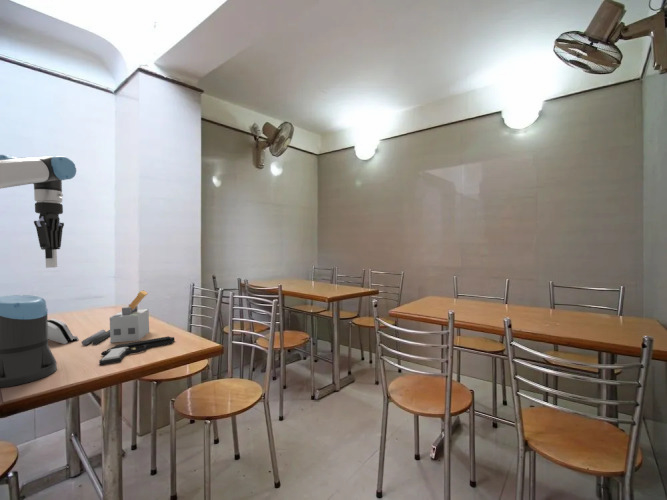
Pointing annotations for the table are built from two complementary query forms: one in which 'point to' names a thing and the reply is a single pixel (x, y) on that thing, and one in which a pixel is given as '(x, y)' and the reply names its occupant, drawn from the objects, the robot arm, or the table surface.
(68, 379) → the table surface
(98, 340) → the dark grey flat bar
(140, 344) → the handgun
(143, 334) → the breaker box
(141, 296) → the lever
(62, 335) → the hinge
